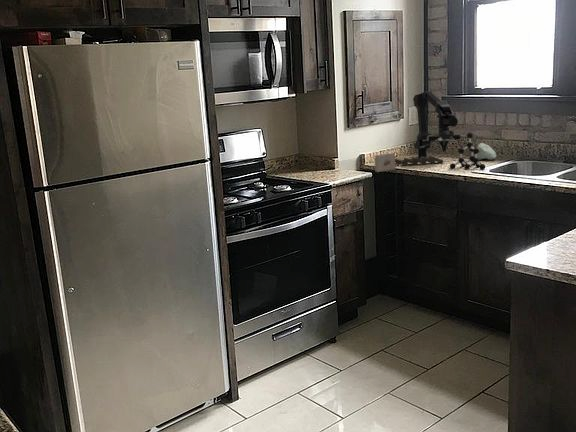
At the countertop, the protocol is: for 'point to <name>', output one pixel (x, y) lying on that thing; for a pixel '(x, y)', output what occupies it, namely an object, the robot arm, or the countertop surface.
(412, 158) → the domino
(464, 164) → the molecular model
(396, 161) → the domino
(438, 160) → the domino
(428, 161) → the domino
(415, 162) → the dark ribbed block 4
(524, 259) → the countertop surface
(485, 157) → the decorative stone
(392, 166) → the fossil
